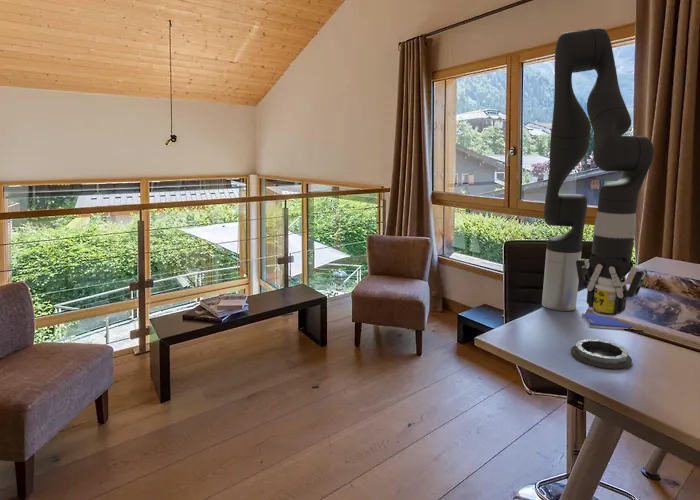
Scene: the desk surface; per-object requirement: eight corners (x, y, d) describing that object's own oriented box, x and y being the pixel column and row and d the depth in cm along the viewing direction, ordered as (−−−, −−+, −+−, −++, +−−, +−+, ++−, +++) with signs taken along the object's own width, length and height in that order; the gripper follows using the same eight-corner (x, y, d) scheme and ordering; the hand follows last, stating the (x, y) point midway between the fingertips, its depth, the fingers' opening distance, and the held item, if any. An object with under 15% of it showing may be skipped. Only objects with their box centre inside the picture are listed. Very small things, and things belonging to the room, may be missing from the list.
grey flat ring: (563, 344, 107) (564, 336, 107) (617, 347, 106) (618, 338, 105) (581, 368, 96) (582, 359, 95) (642, 371, 94) (643, 362, 94)
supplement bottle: (587, 310, 101) (591, 274, 99) (607, 309, 101) (611, 273, 99) (600, 318, 96) (605, 280, 94) (621, 317, 96) (626, 279, 95)
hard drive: (590, 323, 118) (643, 327, 115) (582, 312, 125) (631, 316, 122) (589, 329, 118) (642, 333, 115) (581, 317, 126) (631, 321, 123)
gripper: (571, 230, 98) (564, 304, 102) (643, 240, 87) (633, 323, 91) (588, 227, 103) (580, 298, 106) (659, 236, 91) (648, 315, 95)
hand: (604, 309), depth 98 cm, fingers closed on supplement bottle, 4 cm apart
